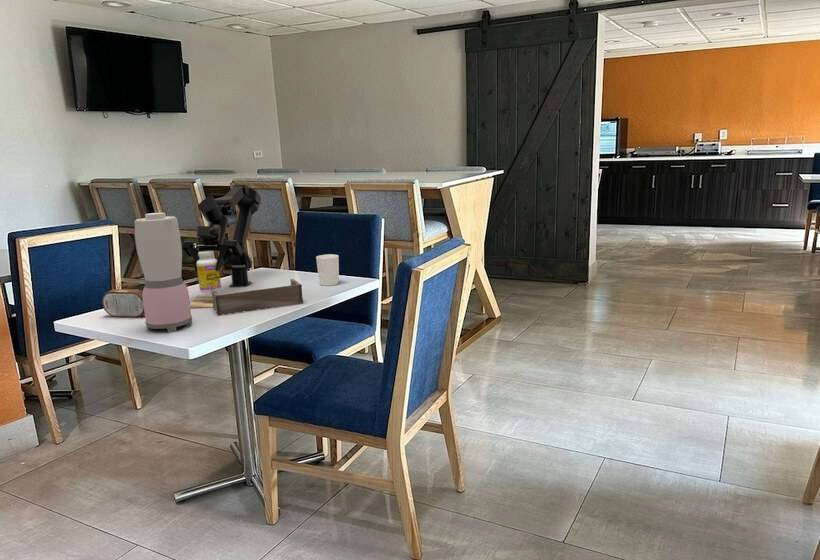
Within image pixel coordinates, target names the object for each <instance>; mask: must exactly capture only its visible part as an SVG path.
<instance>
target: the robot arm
mask: <svg viewBox="0 0 820 560" xmlns="http://www.w3.org/2000/svg"><path fill="white" fill-rule="evenodd" d="M261 198H262V197H261V195H260V194H259V193H258V191H257V190H255V189H254V188H252V187H249V186H248V185H247V184H245V183H244V184H242V183H241V184H234V185H233V186H232V188H231V189H230V190H229V191H228V192H226V194H225V195H224V196H221V197H217V198H215V197H214V195H207V196H206V198H205V199H203V200H201V201H200V203H199V204H198V206H197V208H198V210H199V211H200V213H201V215H202V216H203V218H204V219H205V221H206V222H208V223H209V224H208V225H206V226H205V225H202V226H201V225H200V226H199V225H198V226H197V228H196V229H197V230H196V237H197V238H200V242H201V243H202V244H197V242H196V241H195V240H185V241H182V242H181V247H182V252H183V253H184V254H185V255H186V257H188V258H192V259H193V266H194V267H193V268H194V271H195V272H197V264H196V263H197V261H198V260H200V257H199V255H198V252H202V251H213V252H219V253H218V254H219V255H218V258H217V264H216V271H218V270H219V271H220V270H221V268H222V267H224V269H225V270H226V271H227V270H230V278H231V283H230V284H229V285H228V286H229V287H230V288H232V287H234V288H235V287H239V288H240V287H248V286H250V284H251V283H252V281H251V280H249V276H248V275H249V274H248V270H249V269H252V268H253V260H252V258H251V257H250V254H249V252H248V250H247V247H246V245H247V240H248V236H249V231H250V226H251V222H252V219H253V215H254V214H255V213H256V212H258V210H259V207H260V205H261V204H262V203H261V202H262V199H261ZM236 205H237V207H238V209H239V212H238V215H237V219H236V224H235V227H234V232H233V237H232V239H227V238H226V232H227V229H228V228H230V223H229V219H228V218H227V217H233V215H234V213H235V212H236V210H237V209H236Z"/></svg>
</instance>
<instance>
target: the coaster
mask: <svg viewBox="0 0 820 560" xmlns="http://www.w3.org/2000/svg"><path fill="white" fill-rule="evenodd" d="M211 307H213V301H212V295H209V296H197V297H196V298H194V299H192V300H191V301H190V308H192V309H212V308H211Z"/></svg>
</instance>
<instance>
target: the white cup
mask: <svg viewBox="0 0 820 560" xmlns="http://www.w3.org/2000/svg"><path fill="white" fill-rule="evenodd" d="M315 258H316V259H315V260H316V268H317V275H318V280H319V285H320V286H325V287H327V286H328V287H329V286H336V285H338V284H339V276H340V272H339V271H340V267H339V266H340V264H339V262H340V260H339V255H338V254H332V253H330V254H329V253H328V254H322V255H321V254H320V255H317V256H315Z"/></svg>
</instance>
